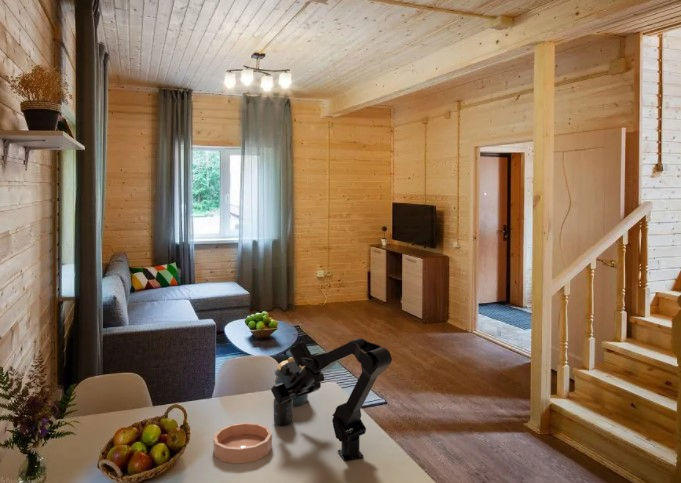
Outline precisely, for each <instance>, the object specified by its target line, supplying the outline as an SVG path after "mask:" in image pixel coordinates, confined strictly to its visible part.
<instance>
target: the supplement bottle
mask: <svg viewBox="0 0 681 483" xmlns="http://www.w3.org/2000/svg"><path fill="white" fill-rule="evenodd" d="M286 389H287V388H286ZM293 413H294V409H293V400H292V398H291V397H290V399H289V400H288V401H287V402H285V403H282V404H276V403H275V398H274V399H273V423H274V425H275V426H278V427H288V426H290V425H291V424H293V418H294V416H293V415H294V414H293Z"/></svg>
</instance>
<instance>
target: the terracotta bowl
mask: <svg viewBox="0 0 681 483" xmlns="http://www.w3.org/2000/svg"><path fill="white" fill-rule="evenodd" d="M212 437H213V438H212V440H213V441H212V442H213V443H212V444H213V453H214V456H215V458H217V459H219V460H220V461H222V462H225V463H231V464H232V463H233V464H246V463H249V462H250V463H251V462H256V461H258V460H260V459H262V458H264V457H266V456H267V455H268V454H269V453H270V451H271V450H272V448H273V433H272V432H271V429H270V427H268V426H266V425H263V424H261V423H255V422H241V423H235V424H229V425H227V426H226V427H223V428H221V429H218V430H217V432H216V433H215V434H214V435H213V436H212Z"/></svg>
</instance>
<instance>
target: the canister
mask: <svg viewBox="0 0 681 483" xmlns="http://www.w3.org/2000/svg"><path fill="white" fill-rule="evenodd" d="M292 361H294V359H293V357H292V356H289V358H287V359H286V360H283V361H281V362H280V363H278V364H277V365H276V370H275V371H274V375H275V379H274V385H276V384H279V383H283V384H284V385H285V387H286V388H290V387H291V383H289V382H288V379H289V378H288V377H287V376H283V375H282V374H281V373H280V370H281V367H282V366H283V365H285V364H286V363H289V362H292ZM294 362H295V361H294ZM299 366H300V365H299ZM300 367H301V366H300ZM304 367H305V366H303V367H301V369H303V368H304ZM290 397H291V398H292V400H293V407H298V406H299V407H300V406H302V405H304V404H306V403H307V402H308V398H309V394H305V395H301V396H298V397H296V396H295V394H292V395H290Z"/></svg>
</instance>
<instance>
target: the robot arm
mask: <svg viewBox="0 0 681 483" xmlns="http://www.w3.org/2000/svg"><path fill="white" fill-rule="evenodd" d="M288 352H289V353H290V355H291V357H293V359H294V361H295V362H294V361H292V362H289V363H286V364H285V365H283V366H282V367H281V370H280V373H281V374H282V375H283V376H287V377H288V378H289V379H288V382H289V383H291V387H290V388H287V389H286V387H285V385H284V384H283V383H279V384H276V385H275V384H274V385H273V386H272V387H271V388H270V390H271V393H272V395H273V397H274V399H275V403H276V404H282V403H285V402H287V401H288V400H289V399H290V395H292V394H295V396H296V397H298V396H301V395H305V394H308V395H309V394H311V393H314V392H317V391H319V390H320V389H321V388H322V387H321V386H322V384H321V382H324V381H325V377H324V373H323V372H324V371H326V370H330V369H332V368H333V367H334V366H335V365H336V364H337V363H338V362H339V361H341V360H343V359H347V357H350V356H353V355H354V357H355V358H356V361H357V362H358V363H360V366H361V373H360V375H359V377H358V379H357V381H356V383H355V385H354V386H353V389H352V391H351V393H350V395H349V397H348V398H347V401H346V402H345V403H342V404H339V405H337V406H336V407H335V410H334V413H333V414H332V416H333V417H332V421H331V422H332V426H333V430H334V435H335V438H336V439H337V440H339V442H341V449H337V454H339V455H340V457H341V458H342V459H343V461H344V462H345V461H346V462H347V461H352V460H356V459H362V458H364V454H363V453H362V451H361V450H360V447H361V446H360V441H361V440H360V436H363V435H365V434H366V432H367V427H366V426H365V425H364V422H363V420H362V419H361V418H362V410H361V409H362V407H363V406H364V404H365V401H366V400H367V398H368V395H369V393H370V392H371V389H372V388H373V386H374V384H375V382H376V380H377V378H378V377H379V376H380V375H382V373H384V372H386V370H387V368H388V367H389V366H390V365H391V363H392V361H393V358H392V356H391V352H390V351H389V349H388V348H386V347H383V346H381V345H380V344H377V343H373V342H370V341H368V340H366V339H365V338H363V337H362V338H361V337H359V338H355V339H352V340H350V341H349V342H347V343H345V344H342V345H340V346H338V347H336V348H334V349H332V350H326V351H323V352H316V353H311V351H310V349H309V348H308V346H307V343H306V342H305V341H300V342H299V343H298V344H296V345H294V346H293V347H291V348H290V349H289V351H288ZM299 365H300V366H301V367H303V366H305V367H304V368H303V369H301V367H300V366H299Z"/></svg>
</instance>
